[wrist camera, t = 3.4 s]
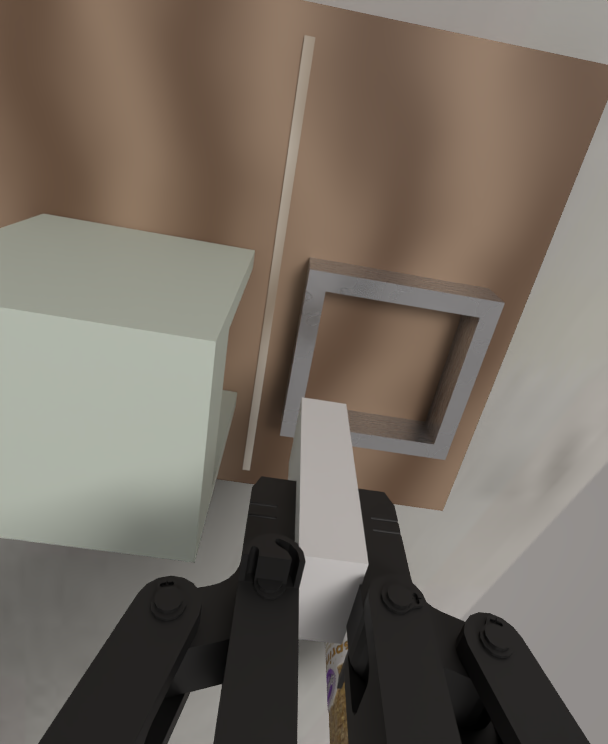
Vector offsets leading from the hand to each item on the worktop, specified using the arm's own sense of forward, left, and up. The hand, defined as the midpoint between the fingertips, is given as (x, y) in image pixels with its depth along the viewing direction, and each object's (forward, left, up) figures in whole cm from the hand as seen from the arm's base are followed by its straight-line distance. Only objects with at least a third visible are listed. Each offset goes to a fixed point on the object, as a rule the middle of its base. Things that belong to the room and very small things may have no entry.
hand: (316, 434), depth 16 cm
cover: (-8, 0, -7) cm, 11 cm away
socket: (+3, 0, -8) cm, 8 cm away
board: (-6, +2, -9) cm, 11 cm away
